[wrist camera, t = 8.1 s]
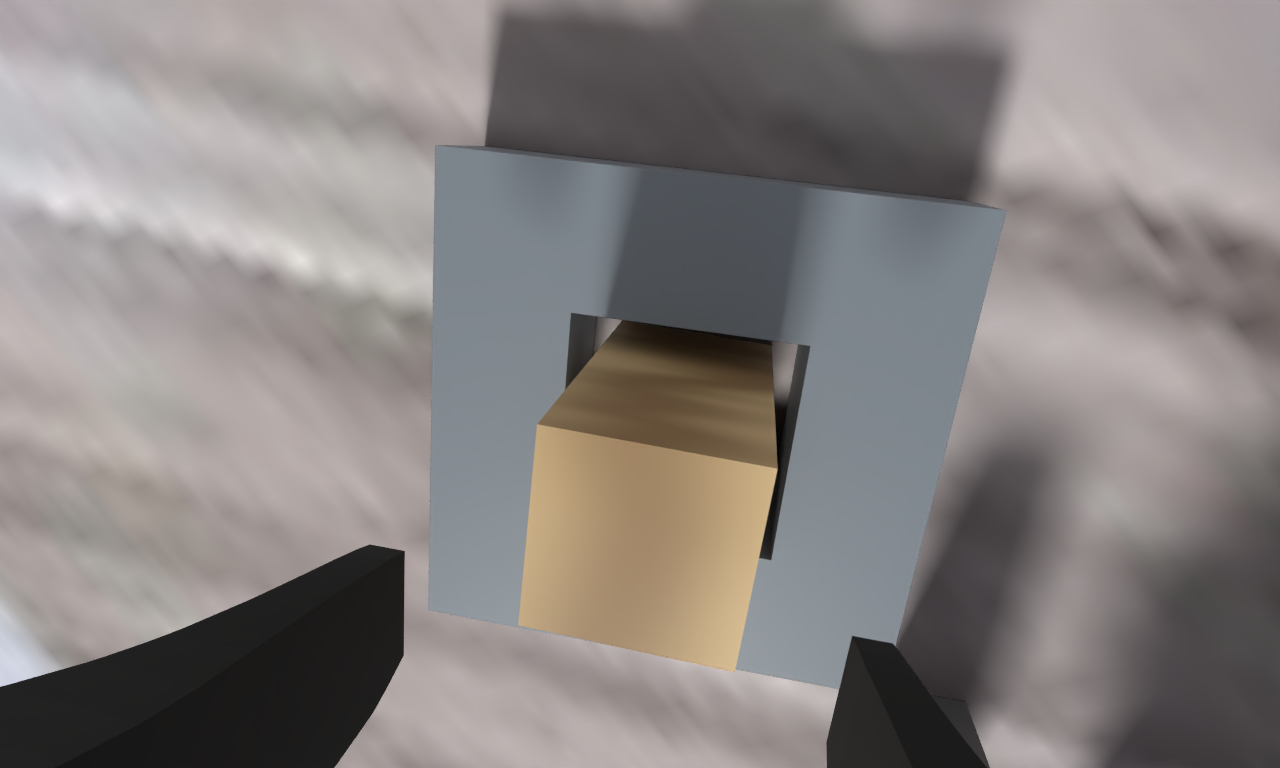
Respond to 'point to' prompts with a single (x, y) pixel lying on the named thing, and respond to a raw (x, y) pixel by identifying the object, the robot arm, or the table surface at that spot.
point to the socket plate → (713, 302)
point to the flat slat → (962, 723)
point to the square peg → (653, 495)
